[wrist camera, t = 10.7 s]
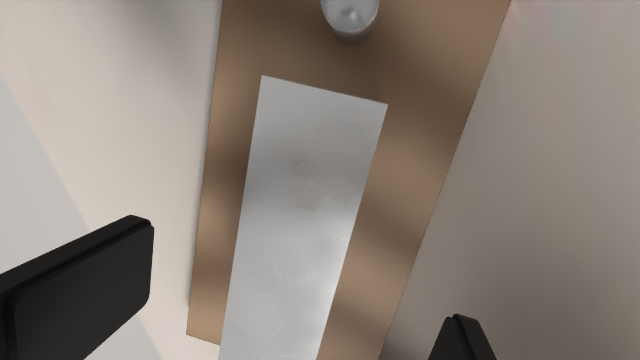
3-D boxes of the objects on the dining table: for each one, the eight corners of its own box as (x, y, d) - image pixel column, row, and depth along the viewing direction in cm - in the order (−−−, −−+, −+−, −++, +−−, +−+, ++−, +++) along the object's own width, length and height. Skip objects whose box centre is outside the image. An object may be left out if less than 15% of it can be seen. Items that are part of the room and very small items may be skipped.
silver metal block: (380, 101, 14) (388, 104, 9) (323, 309, 17) (306, 391, 13) (297, 81, 14) (261, 74, 9) (257, 290, 18) (217, 362, 13)
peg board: (366, 370, 20) (365, 445, 16) (198, 318, 21) (155, 375, 17) (497, 6, 13) (558, -35, 9) (243, -46, 14) (190, -105, 10)
